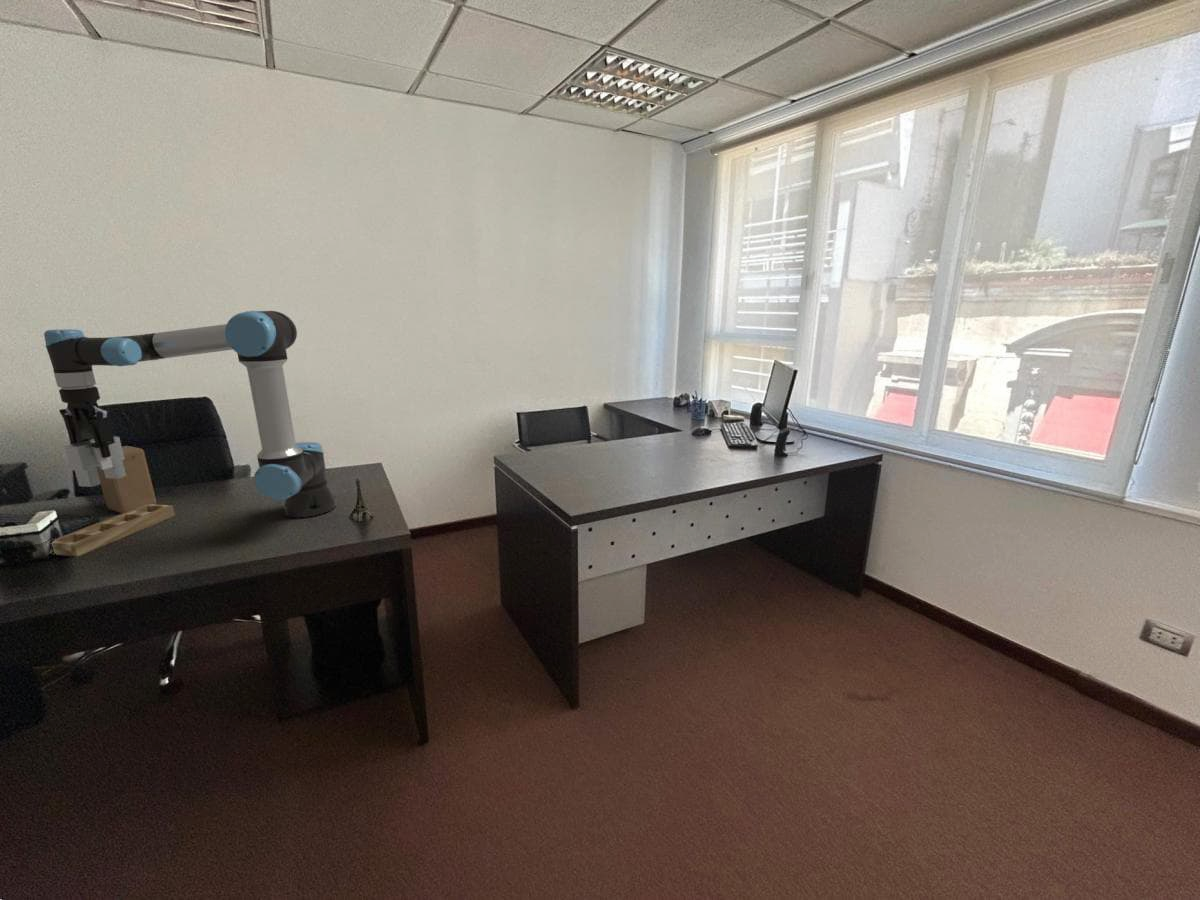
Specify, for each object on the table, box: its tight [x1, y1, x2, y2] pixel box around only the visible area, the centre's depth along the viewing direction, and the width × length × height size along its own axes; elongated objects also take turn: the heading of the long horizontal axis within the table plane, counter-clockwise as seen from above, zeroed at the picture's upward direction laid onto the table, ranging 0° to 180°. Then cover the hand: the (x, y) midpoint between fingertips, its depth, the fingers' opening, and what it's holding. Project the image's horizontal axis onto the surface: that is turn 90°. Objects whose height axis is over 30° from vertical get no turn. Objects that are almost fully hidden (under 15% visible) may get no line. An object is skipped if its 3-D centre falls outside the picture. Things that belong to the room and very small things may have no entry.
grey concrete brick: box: [63, 435, 126, 488], centre depth 144 cm, size 4×11×12 cm, turn 172°
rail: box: [51, 503, 176, 557], centre depth 150 cm, size 9×28×4 cm, turn 172°
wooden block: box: [96, 445, 157, 514], centre depth 166 cm, size 10×10×20 cm
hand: (99, 467), depth 144 cm, fingers closed on grey concrete brick, 4 cm apart
